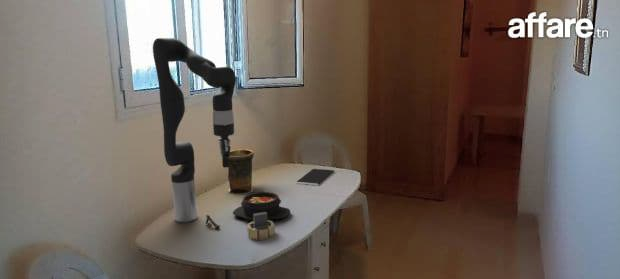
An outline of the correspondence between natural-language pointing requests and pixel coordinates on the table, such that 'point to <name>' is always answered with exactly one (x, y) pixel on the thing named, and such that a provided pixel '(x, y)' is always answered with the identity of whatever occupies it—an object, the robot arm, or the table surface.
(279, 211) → the casserole
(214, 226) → the wooden post with brackets
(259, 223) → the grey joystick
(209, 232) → the table surface
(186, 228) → the table surface
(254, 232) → the octagonal wooden ring
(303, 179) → the smartphone
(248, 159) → the vessel
